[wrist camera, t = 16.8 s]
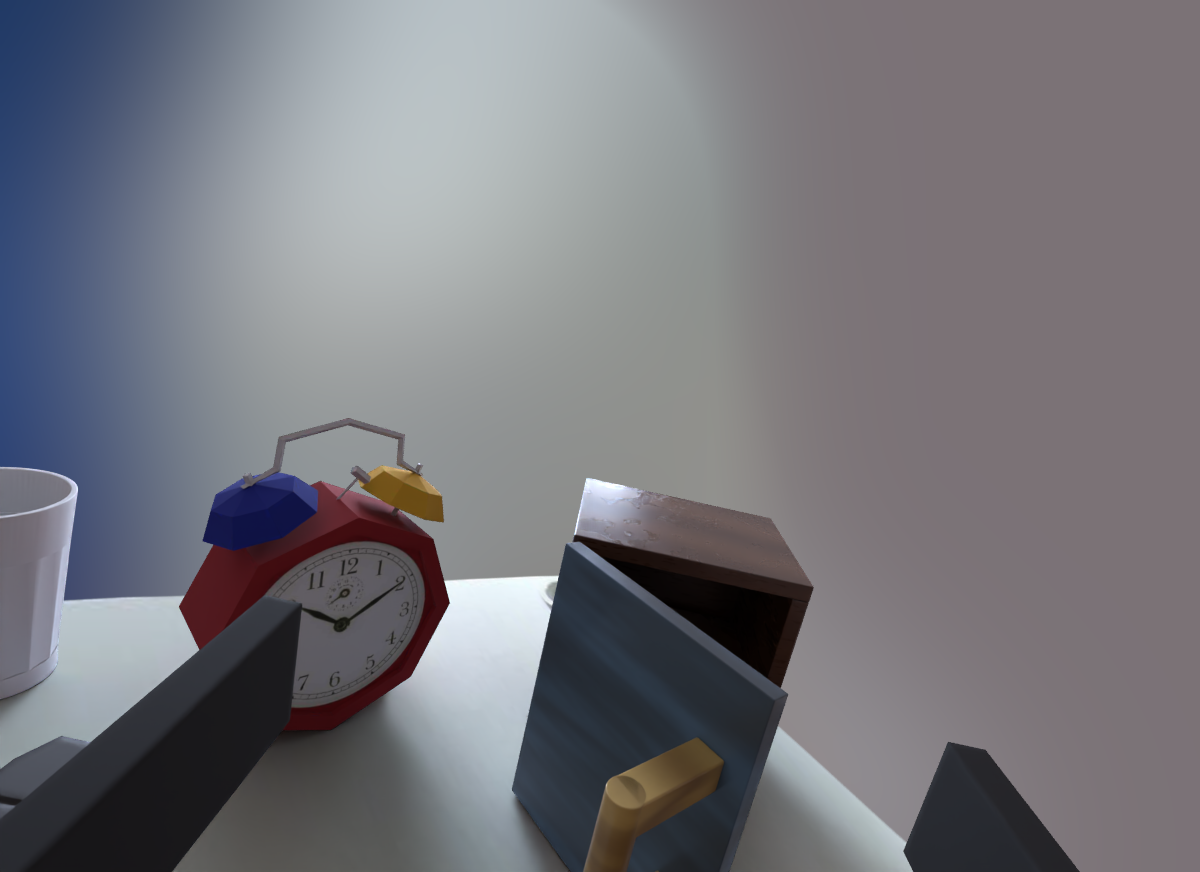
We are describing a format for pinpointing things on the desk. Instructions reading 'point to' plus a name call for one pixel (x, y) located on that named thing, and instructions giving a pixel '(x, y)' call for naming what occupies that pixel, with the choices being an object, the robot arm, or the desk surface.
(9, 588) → the cup
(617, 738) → the door
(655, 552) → the cupboard
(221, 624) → the alarm clock
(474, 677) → the desk surface
